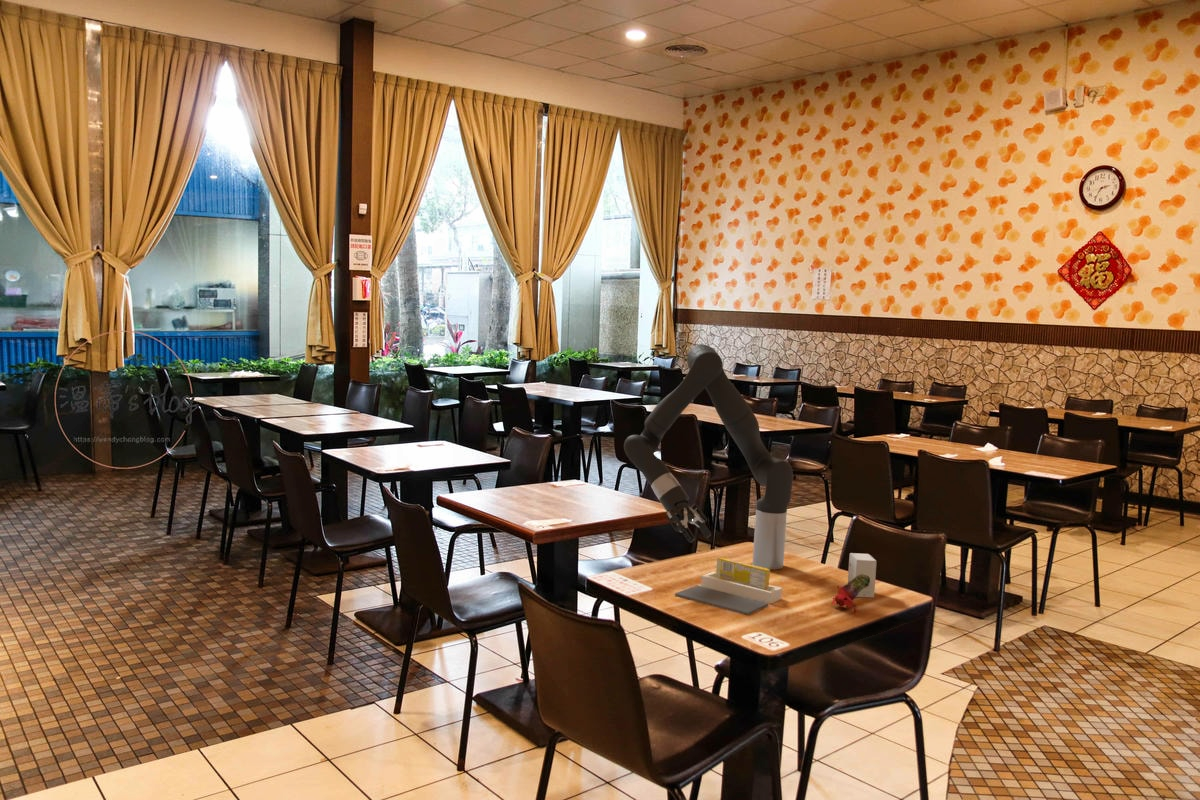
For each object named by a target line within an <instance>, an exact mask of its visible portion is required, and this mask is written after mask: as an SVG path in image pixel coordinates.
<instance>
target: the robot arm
mask: <svg viewBox="0 0 1200 800" xmlns="http://www.w3.org/2000/svg"><path fill="white" fill-rule="evenodd" d="M686 364H687V367H688V371H687V373H686V376H685V377H684V378H683V380H682V381H681V382H680V384H678V386H677V387H676V388H675V389H674V390H672V391H671V392H670V393H669V394H667V395H666V396H665V397H663V399H662V400H660V401H659V403H658V404H657V405H656V406H655V407H654V409H652V411H651V412H650V414H649V415H648V416H647V417H646V418H645V420H644V429H643V430H642V432H641V433H640V435H639V434H631V435H629V436H627V438H626V439H625V440H624V443H623V449H624V453H625V455H626V456H627V458H628V459H629V461H630V462H631V463H632V464H633V465H634V466H635V468H637V470H639V471H640V472H641V473H642V474H643V476H644V478H645V479H646V481H647V483H648V484H649V485H650V487H651V489H652V491H653V493H654V495H655V496H656V497H657V499H658V500H659V502H660V504H661V505H662V507H663V508H664V510H665V511H666V513H665V517H666V519H667V521H668V522H669V523H670V525H671V527H672V528H673V530H674V531H675V532H676V533H677V532H679V533H682V535H683V536H684V537H685V540H687V542H688V543H689V544H691V543H693V542H695V540H696V537H695V535H694V534H693V531H692V530H691V529H690V528H689V526H688V524H689V523H690V524H691V525H695V527H698V529H699V531H700V532H701V534H702V536H703V538H705V539H708V538H709V537H711V536H712V532H711V530H710V529H709V527H708V526H707V525H706V522H707V521H708V520H709V519H708V517H707V516H706V515H705V513H704V512H703V511H702V509H701V508H700V507H699V505H698V504H697V503H694V504H692V505H690V504H689V502H688V501H689V499H690V498H689V495H688V494H687V492H686V491H685V490H684V488H683V486H682V485H681V484H680V483H679V481H678V480H677V478H676V477H675V476H674V475H673V474H672V472H671V471H670V470H669V468H668V467H667V465H666V463H665V462H664V461H663V460H662V459H660V458H658V457H657V456H656V454H655V452H656V451H657V449H658V447H659V446H660V444H661V441H662V440H663V437H664V435H665V434H666V433H667V431H669V430H670V429H671V427H672V426H673V424H674V423H675V421H676V420H677V419H678V418H679V417H680V416H681V414H682V413H683V412H684V411H685V409H686V408H687V407H688V406H689V405H690V404H691V403H692V402H693V401H694V400H695V399H696V398H697V397H698V396H699V395H700V393H702V392H703V391H704V390H706V392H707V394H708V395H709V398H710V400H711V403H712V405H713V407H714V408H715V411H716V414H717V415H718V417H719V418H720V421H721V422H722V425H724V427H725V429H726V430H727V432H728V433H729V435H730V436H731V438H732V439H733V441H734V442H735V445H737V447H738V448H739V450H740V452H741V453H742V455H743V457H744V459H745V460H746V464H747V465H748V467H749V469H750V471H751V473H752V475H753V478H754V479H755V480H756V482H757V483H758V484H759V485H761V486H763V487H765V491H764V496H763V497H762V498H758V500H756V504H755V505H756V506H755V521H754V535H753V550H752V551H753V552H752V563H751V565H754V566H758V567H762V568H767V569H770V570H781V569H783V568H784V561H785V560H784V559H785V546H786V545H785V543H786V529H787V514H788V506H789V504H790V503H791V502H790V501H791V498H792V492H793V491H792V489H793V483H794V472H793V468H792V466H791V464H790V463H789V462H788V461H786V460H784V459H781V458H777V457H774V456H773V455H771V453H770V452H769V451H768V450H767V448H766V446H765V445H764V443H763V441H762V439H761V433H760V425H759V421H758V419H757V417H756V415H755V413H754V412H753V410H752V408H751V407H750V405H749V403H748V402H747V401H746V399H745V398H744V396H743V395H742V394H741V393H740V391H739V390H738V389H737V388H736V387H735V385H734V384H733V383H732V382H731V380H730V379H729V378H728V376H727V374H726V372H725V370H724V368H723V360H722V358H721V356H720V355H719V354H718V352H717V351H716V350H715V349H714V348H713V347H712V346H710V345H707V344H697V345H694V346H692V347H691V349H690V350H689V351H688V354H687V359H686Z"/></svg>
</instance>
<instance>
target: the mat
mask: <svg viewBox="0 0 1200 800" xmlns="http://www.w3.org/2000/svg"><path fill="white" fill-rule="evenodd" d="M674 596H675V597H679V598H682V599H686V600H691V601H694V602H697V603H701V604H705V605H709V606H713V607H715V608H720V609H724V610H727V611H731V612H735V613H739V614H741V615H742V614H743V615H745V616H748V615H752V614H753V613H756V612H758V611H759V610H763V609H765V608H766V607H768V606H769V604H768V603H765V602H761V601H757V600H753V599H749V598H745V597H741V596H737V595H733V594H729V593H725V592H721V591H718V590H714V589H710V588H706V587H702V586H701V585H694V586H691V587H689V588H687V589H683V590H680V591H678V592H675V593H674Z"/></svg>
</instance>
